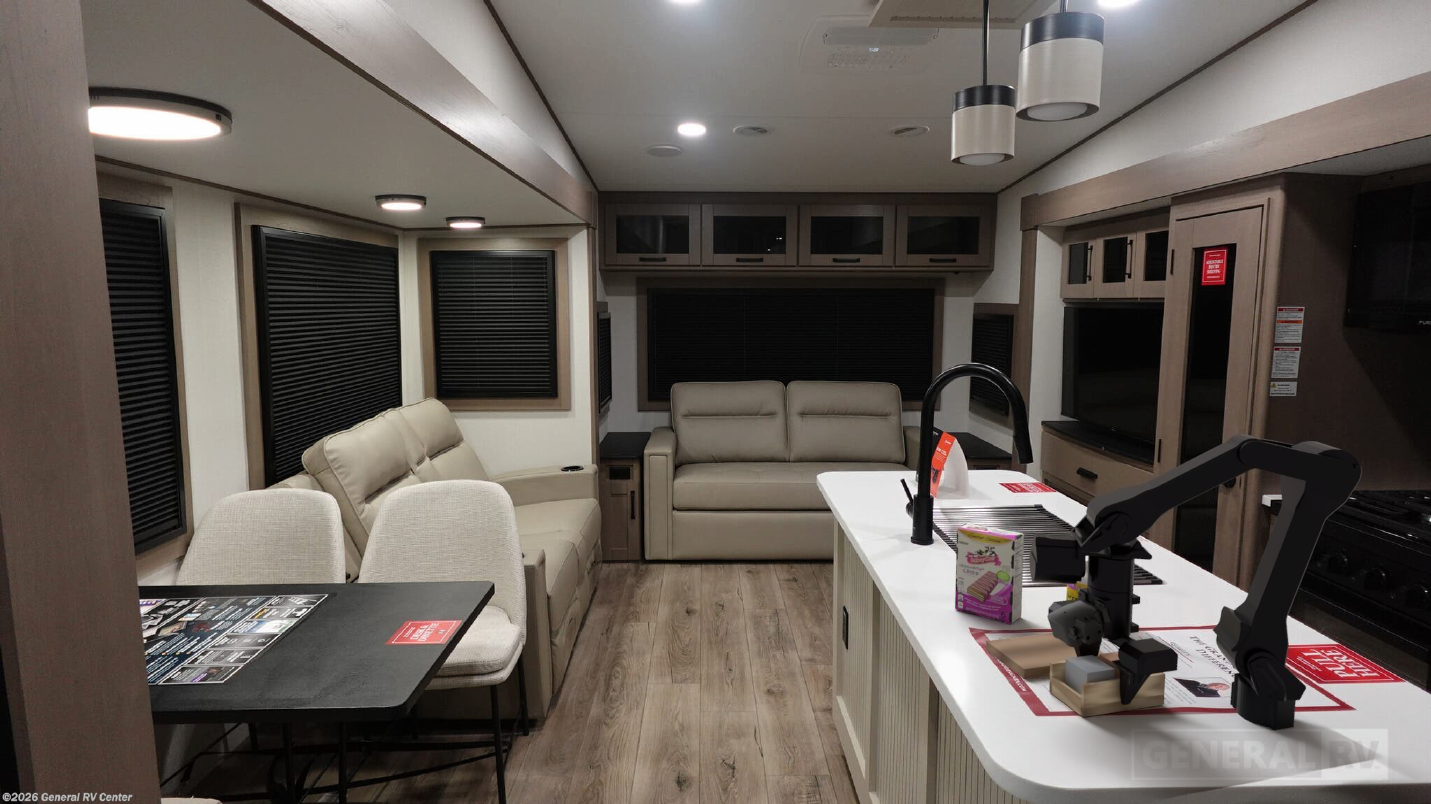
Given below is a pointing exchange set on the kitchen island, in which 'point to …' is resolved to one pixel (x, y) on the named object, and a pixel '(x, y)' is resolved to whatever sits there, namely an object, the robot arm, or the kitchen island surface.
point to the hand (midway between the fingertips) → (1105, 691)
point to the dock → (1031, 653)
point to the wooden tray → (1104, 693)
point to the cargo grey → (1086, 671)
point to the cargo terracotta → (1110, 661)
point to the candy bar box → (989, 572)
